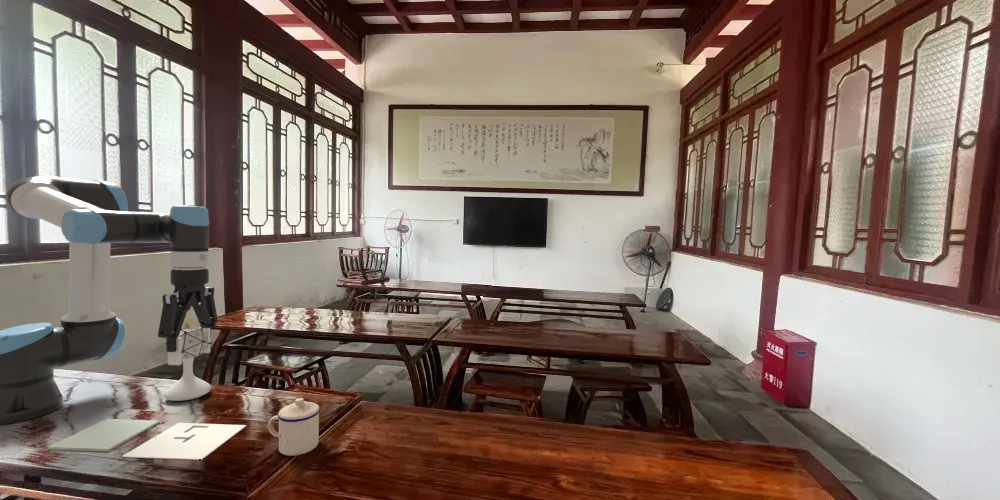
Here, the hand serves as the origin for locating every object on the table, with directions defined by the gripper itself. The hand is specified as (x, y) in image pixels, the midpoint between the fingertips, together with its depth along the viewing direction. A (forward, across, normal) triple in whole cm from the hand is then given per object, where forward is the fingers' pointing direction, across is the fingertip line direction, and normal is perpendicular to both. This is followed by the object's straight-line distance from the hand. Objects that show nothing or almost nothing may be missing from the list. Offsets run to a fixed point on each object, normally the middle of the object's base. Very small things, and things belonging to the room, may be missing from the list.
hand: (190, 358), depth 101 cm
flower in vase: (+20, +22, +18) cm, 34 cm away
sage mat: (+19, -2, +19) cm, 27 cm away
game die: (0, 0, 0) cm, 0 cm away
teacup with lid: (+20, -4, -28) cm, 34 cm away
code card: (+19, -3, -2) cm, 20 cm away
